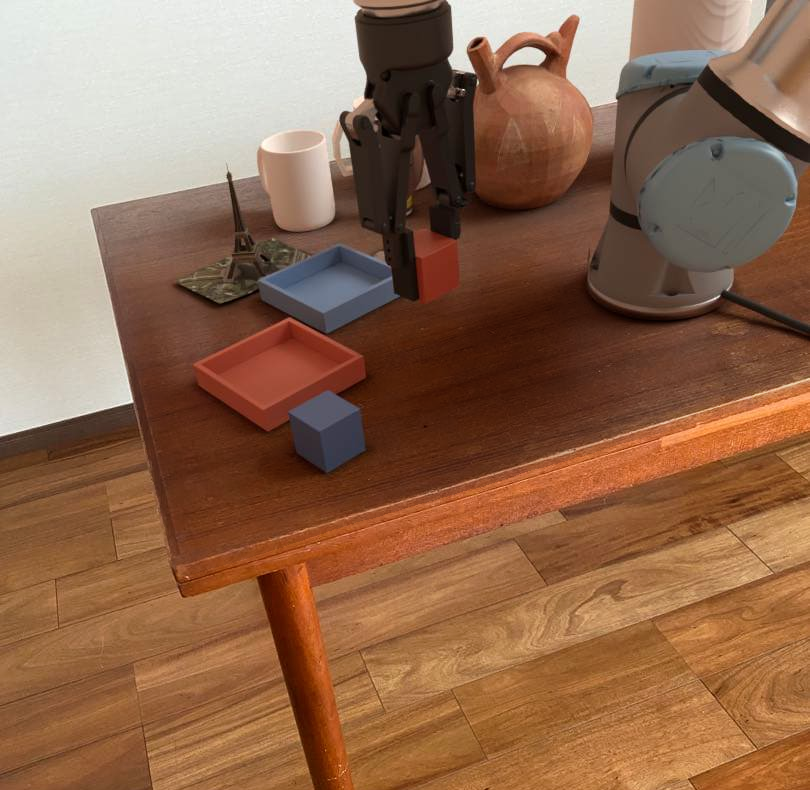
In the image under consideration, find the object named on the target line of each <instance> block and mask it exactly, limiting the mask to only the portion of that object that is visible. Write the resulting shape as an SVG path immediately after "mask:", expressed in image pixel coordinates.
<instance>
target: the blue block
mask: <svg viewBox="0 0 810 790" xmlns="http://www.w3.org/2000/svg"><path fill="white" fill-rule="evenodd" d="M360 409H361V408H360V407H358V406H356V405H354V404H353V403H351V402H349V401H347V400H346V399H344V398H342V397H340V396H339V395H337V394H336V395H335V394H334V393H332V392H330V391H329V390H327V391H325V392H323V393H321V394H320V395H318V396H316V397H314V398H312V399H310V400H309V401H307V402H305V403H303V404H301V405H299V406H298V407H296V408H294V409H292V410H290V411H288V415H289V419H290V420H289V425H290V429H291V433H292V438H293V443H294V447H295V452H296V454H298V455H299V456H301V458H303V459H305V460H306V461H308V462H309V463H311V464H313V466H315V467H317V468H318V469H320V470H321V471H323V473H325V474H328V473H331V472H332V471H333V470H335V469H336V468H338V467H340V466H342V465H344V464H345V463H347V462H348V461H350V460H351V459H354V458H355V457H357V456H359V455H360V454H361V453H363V452H365V451H366V449H367V448H366V443H365V436H364V428H363V422H362V415H361V410H360Z"/></svg>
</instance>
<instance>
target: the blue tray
mask: <svg viewBox="0 0 810 790" xmlns="http://www.w3.org/2000/svg"><path fill="white" fill-rule="evenodd" d="M309 256H310V257H308V258H305V259H303V260H301V261H299V262H297V263H294V264H292V265H290V266H288V267H286V268H283V269H281V270H279V271H277V272H275V273H272V274H270V275H268V276H266V277H263V278H261V279H259V280H258V285H259V289H258V290H259V294H260V299H261V301H262V302H264V303H267V304H268V305H270V306H272V307H274V308H276V309H278V310H280V311H282V312H283V313H286V314H288V315H289V316H292V318H295V319H296V320H299V321H300V322H303V323H305V324H307V325H309V326H311V327H312V328H314V329H317V330H318V331H319V332H322V333H324V334H326V335H327V334H329V333H331V332H333V331H335V330H337V329H339V328H341V327H343V326H345V325H346V324H349V323H351V322H352V321H355V320H357V319H358V318H361V317H363V316H364V315H367V314H368V313H371V312H372V311H375V310H377V309H378V308H380V307H382V306H384V305H385V304H388V303H390V302H392V301H394V300H396V299H399V298H400V297H401V296H399V295H397V294H395V293H394V290H393V281H392V272H391V267H390V266H388V265H387V264H386V262H384V261H381V260H379V259H376V258H374V257H373V255H370V254H367V253H365V252H362V251H360V250H358V249H356V248H353V247H350V246H348V245H346V244H343V243H341V242H339V243H337V244H333V245H331V246H330V247H328V248H325V249H323V250H320V251H319V252H316V253H314V254H312V255H309Z"/></svg>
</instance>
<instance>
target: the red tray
mask: <svg viewBox="0 0 810 790" xmlns="http://www.w3.org/2000/svg"><path fill="white" fill-rule="evenodd" d="M365 366H366V365H365V359H364V355H362V354H360V353H358V352H356V351H355V350H353V349H351V348H349V347H347V346H345V345H343V344H342V343H339V342H337V341H336V340H333V339H332V338H330V337H328V336H327V335H324V334H322V333H320V331H317V330H315V329H313V328H311V327H309V326H307V325H305V324H303V323H301V321H298V320H297V319H293V317H287V318H284V319H283V320H281V321H279V322H277V323H274V324H273V325H270V326H269V327H268V326H267V327H266V328H264V329H262V330H260V331H258V332H255V333H254V334H252V335H250V336H248V337H246V338H244V339H242V340H240V341H238V342H236V343H234V344H231V345H230V346H227V347H226V348H223V349H221V350H219V351H217V352H214V353H213V354H211V355H209V356H207V357H205V358H202V359H200V360H199V361H197V362H195V363H193V364H192V367H193V371H194V374H195V377H196V381H197V384H198V385H197V386H199V387H201V389H203V390H205V391H206V392H208V393H209V394H210V395H212V396H214V397H215V398H217V399H218V400H219V401H221V402H222V403H224V404H226V405H227V406H228V407H230V408H231V409H233V410H234V411H236V412H237V413H239V414H240V415H242V416H243V417H245V418H246V419H248V420H249V421H251V422H252V423H253V424H255V425H257V426H258V427H260V429H263V430H264V431H266V432H268V433H269V432H270V431H272V430H274V429H276V428H278V427H279V426H281V425H283V424H284V423H287V422H289V421H290V419H289V415H288V411H290V410H292V409H294V408H296V407H298V406H299V405H301V404H303V403H305V402H307V401H309V400H310V399H312V398H314V397H316V396H318V395H320V394H321V393H323V392H325V391H327V390H329V391H330V392H332V393H334V394H335V395H337V394H340V393H341V392H343V391H345V390H347V389H348V388H351V386H353V385H355V384H358V383H359V382H361V381H363V380H364V379H365V380H366V378H367V374H366V367H365Z"/></svg>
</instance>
